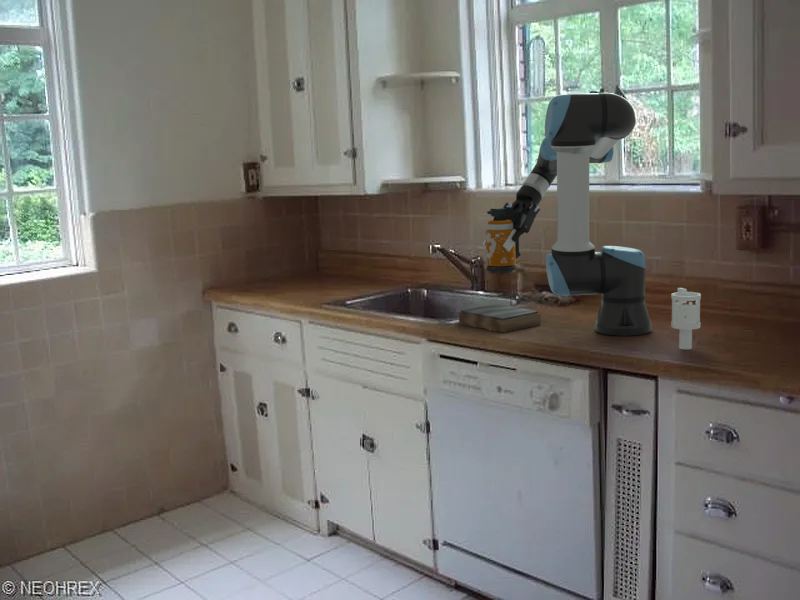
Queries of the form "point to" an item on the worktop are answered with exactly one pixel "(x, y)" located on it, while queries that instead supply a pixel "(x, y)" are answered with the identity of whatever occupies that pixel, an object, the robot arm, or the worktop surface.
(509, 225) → the canister
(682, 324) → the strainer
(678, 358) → the worktop surface
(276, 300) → the worktop surface
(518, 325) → the stand
